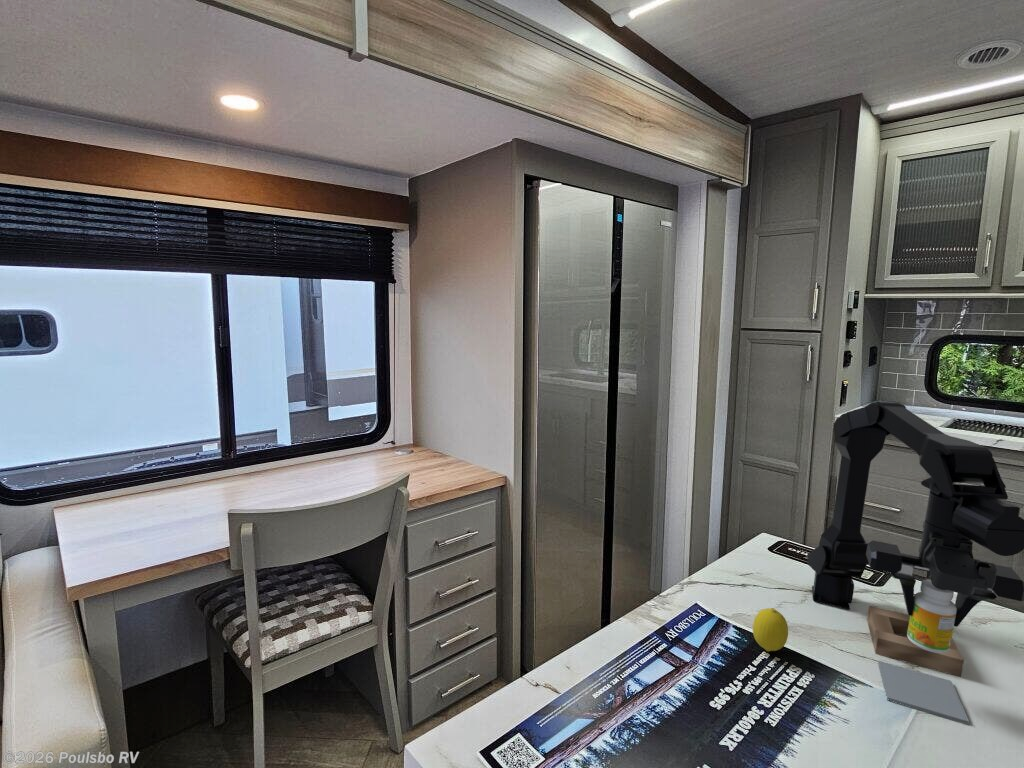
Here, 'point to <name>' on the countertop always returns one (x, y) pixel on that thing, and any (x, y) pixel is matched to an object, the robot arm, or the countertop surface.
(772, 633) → the lemon
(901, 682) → the grey rubber mat
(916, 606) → the supplement bottle
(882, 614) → the walnut open tray
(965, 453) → the robot arm
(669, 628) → the countertop surface
